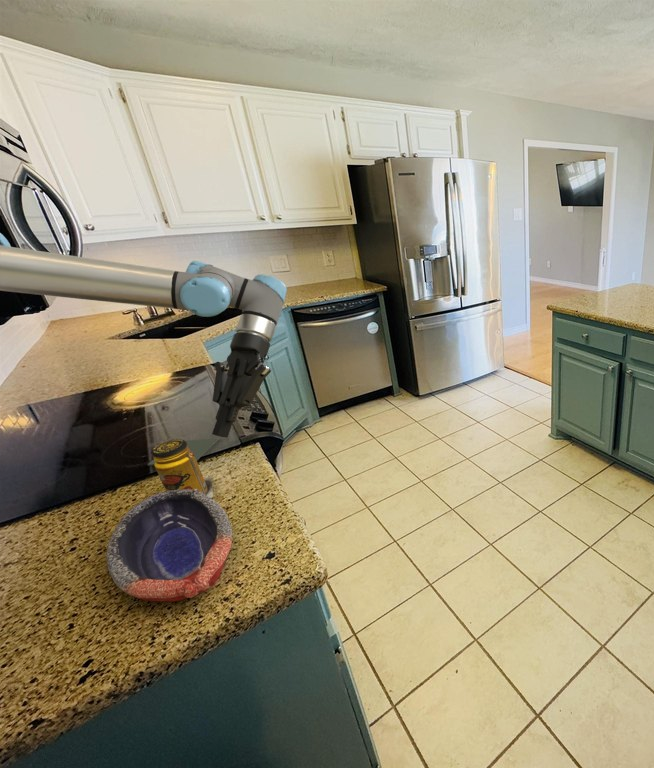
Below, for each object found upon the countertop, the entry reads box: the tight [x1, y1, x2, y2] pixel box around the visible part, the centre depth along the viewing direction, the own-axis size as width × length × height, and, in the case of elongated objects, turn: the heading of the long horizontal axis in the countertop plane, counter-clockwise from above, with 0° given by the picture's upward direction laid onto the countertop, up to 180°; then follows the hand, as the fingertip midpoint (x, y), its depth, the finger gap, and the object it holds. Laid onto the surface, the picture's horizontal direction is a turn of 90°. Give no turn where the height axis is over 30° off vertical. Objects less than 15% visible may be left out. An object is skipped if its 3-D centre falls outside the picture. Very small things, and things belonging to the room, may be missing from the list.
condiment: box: [151, 439, 214, 498], centre depth 80 cm, size 7×8×12 cm
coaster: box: [147, 437, 220, 467], centre depth 96 cm, size 10×10×1 cm
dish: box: [106, 489, 234, 602], centre depth 67 cm, size 16×31×5 cm, turn 45°
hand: (219, 435), depth 89 cm, fingers closed
